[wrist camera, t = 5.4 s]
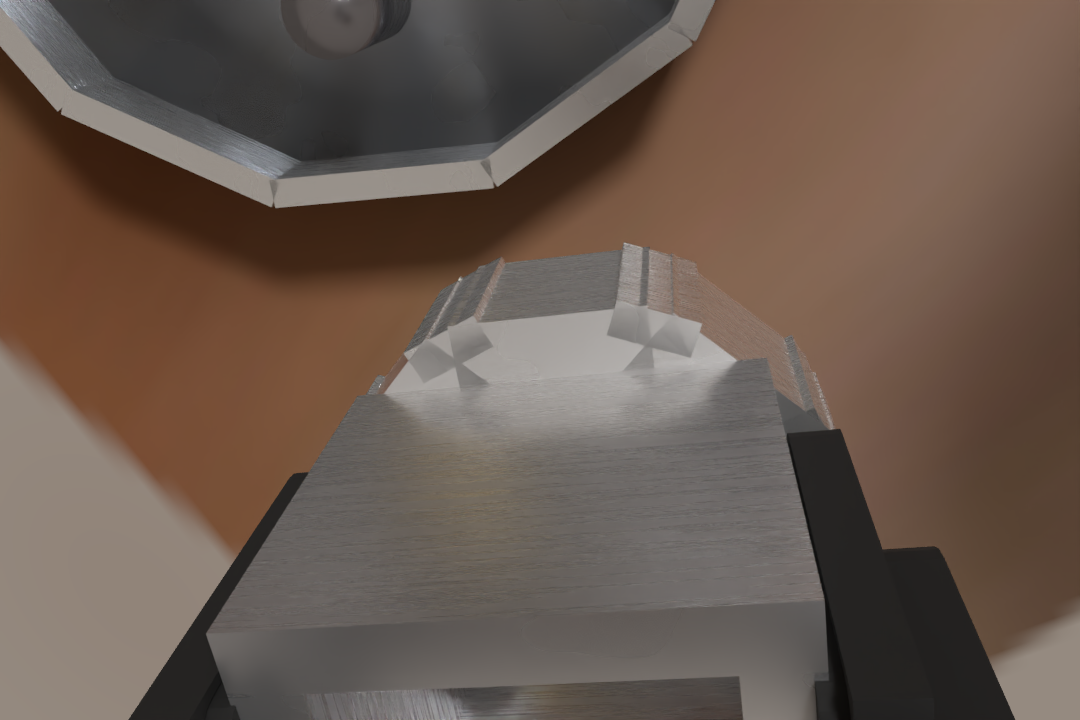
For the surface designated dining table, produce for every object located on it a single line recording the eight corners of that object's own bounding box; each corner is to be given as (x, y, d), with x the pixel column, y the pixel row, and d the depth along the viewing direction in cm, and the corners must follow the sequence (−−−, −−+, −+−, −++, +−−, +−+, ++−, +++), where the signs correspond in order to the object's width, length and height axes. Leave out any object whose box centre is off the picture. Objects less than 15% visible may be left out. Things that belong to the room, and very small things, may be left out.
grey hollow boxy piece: (816, 220, 12) (953, 488, 6) (834, 634, 14) (946, 1096, 8) (328, 275, 13) (72, 549, 7) (422, 654, 15) (282, 1081, 9)
